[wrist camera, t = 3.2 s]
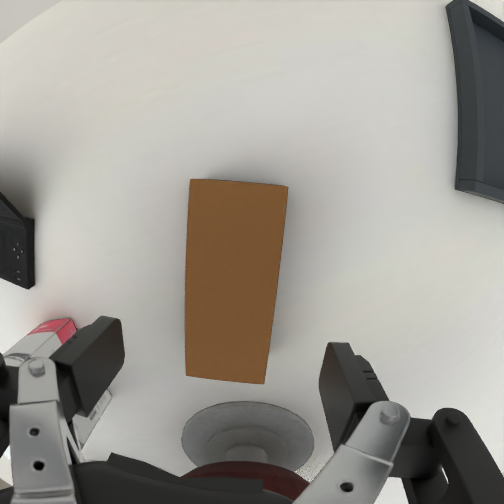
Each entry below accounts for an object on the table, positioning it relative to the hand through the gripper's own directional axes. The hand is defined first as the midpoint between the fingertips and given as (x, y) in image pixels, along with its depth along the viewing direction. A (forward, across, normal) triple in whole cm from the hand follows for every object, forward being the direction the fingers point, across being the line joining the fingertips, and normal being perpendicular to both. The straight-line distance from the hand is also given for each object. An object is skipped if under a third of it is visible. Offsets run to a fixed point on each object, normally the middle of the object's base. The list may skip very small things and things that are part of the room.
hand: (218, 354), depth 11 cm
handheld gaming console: (+9, +22, -2) cm, 24 cm away
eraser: (+9, 0, 0) cm, 9 cm away
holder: (+9, -20, -16) cm, 27 cm away
